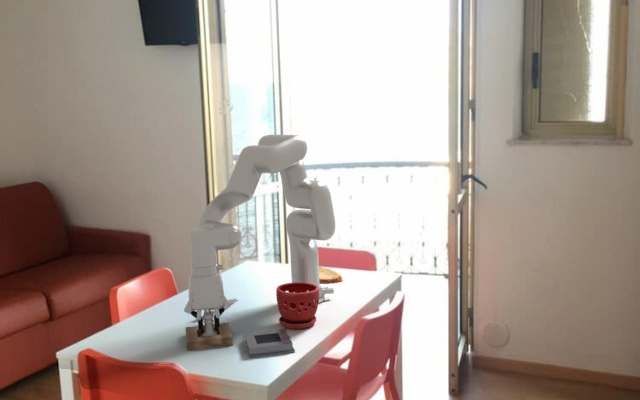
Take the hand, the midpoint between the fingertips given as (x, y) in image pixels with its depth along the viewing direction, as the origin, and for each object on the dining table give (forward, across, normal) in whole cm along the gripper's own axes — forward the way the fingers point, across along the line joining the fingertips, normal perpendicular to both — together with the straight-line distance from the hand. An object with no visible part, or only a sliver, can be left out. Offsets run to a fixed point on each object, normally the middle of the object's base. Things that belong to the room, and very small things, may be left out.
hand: (209, 330), depth 200 cm
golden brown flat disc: (+4, -45, -55) cm, 72 cm away
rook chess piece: (+3, 0, 0) cm, 3 cm away
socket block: (+3, 0, 0) cm, 3 cm away
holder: (+3, -16, +11) cm, 20 cm away
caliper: (+4, -6, -28) cm, 29 cm away
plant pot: (+3, -28, -5) cm, 28 cm away
